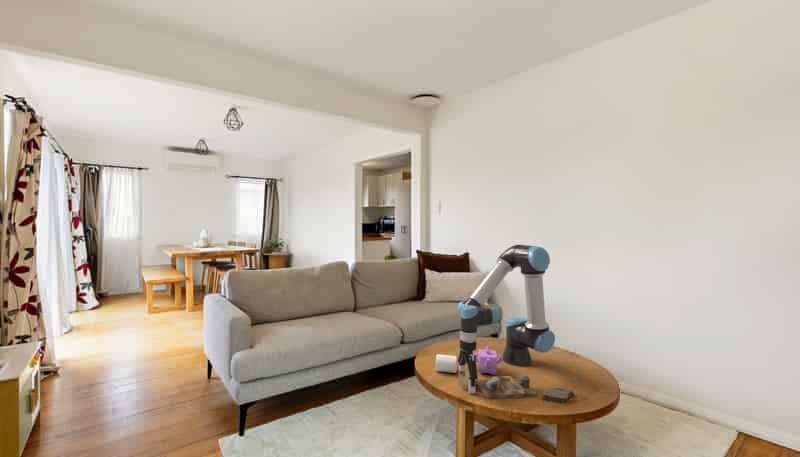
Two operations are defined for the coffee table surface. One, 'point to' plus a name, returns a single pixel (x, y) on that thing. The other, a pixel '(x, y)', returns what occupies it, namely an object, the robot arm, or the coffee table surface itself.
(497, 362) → the teapot
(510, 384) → the framed base plate
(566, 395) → the stone
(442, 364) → the mug
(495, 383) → the shafts
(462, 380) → the gold cube
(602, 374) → the coffee table surface
